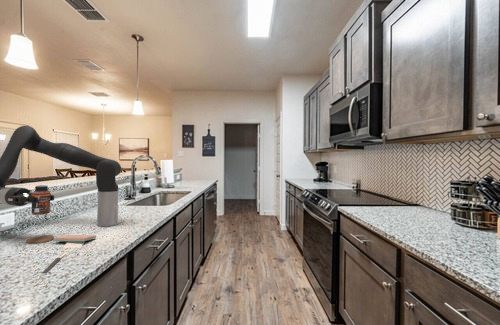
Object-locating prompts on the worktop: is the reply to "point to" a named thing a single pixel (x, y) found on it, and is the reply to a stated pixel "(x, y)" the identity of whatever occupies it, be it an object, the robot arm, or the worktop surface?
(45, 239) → the coaster
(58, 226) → the worktop surface
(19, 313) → the worktop surface
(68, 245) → the spatula
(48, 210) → the supplement bottle
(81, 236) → the tile
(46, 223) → the worktop surface
